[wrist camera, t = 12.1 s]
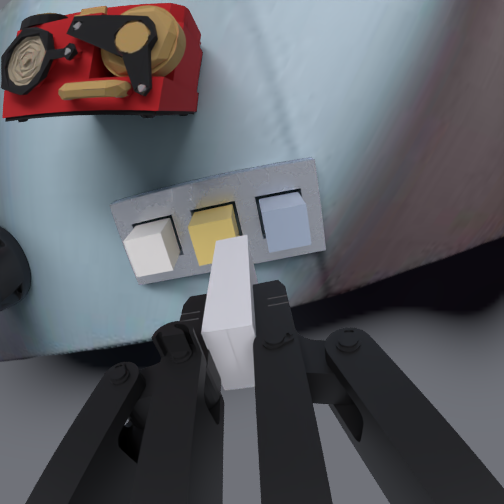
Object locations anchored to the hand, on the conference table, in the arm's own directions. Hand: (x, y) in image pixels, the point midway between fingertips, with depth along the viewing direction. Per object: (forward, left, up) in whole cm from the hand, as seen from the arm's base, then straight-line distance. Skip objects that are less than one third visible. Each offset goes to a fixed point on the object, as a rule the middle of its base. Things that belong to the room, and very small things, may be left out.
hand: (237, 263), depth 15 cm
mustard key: (-4, -6, -23) cm, 24 cm away
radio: (-9, +15, -25) cm, 30 cm away
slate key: (+4, -6, -23) cm, 24 cm away
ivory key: (-12, -6, -23) cm, 26 cm away
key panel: (-4, -6, -24) cm, 25 cm away
